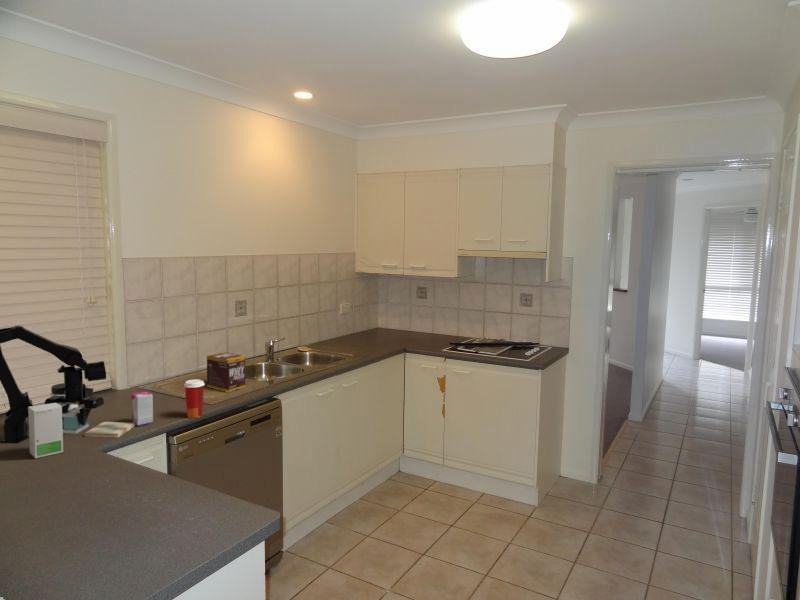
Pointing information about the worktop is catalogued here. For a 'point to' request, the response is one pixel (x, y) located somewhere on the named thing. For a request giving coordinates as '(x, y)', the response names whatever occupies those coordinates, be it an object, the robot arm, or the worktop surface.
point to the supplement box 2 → (225, 371)
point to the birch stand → (110, 429)
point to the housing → (73, 421)
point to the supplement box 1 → (142, 408)
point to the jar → (60, 393)
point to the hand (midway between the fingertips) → (75, 424)
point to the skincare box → (45, 430)
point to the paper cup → (194, 398)
